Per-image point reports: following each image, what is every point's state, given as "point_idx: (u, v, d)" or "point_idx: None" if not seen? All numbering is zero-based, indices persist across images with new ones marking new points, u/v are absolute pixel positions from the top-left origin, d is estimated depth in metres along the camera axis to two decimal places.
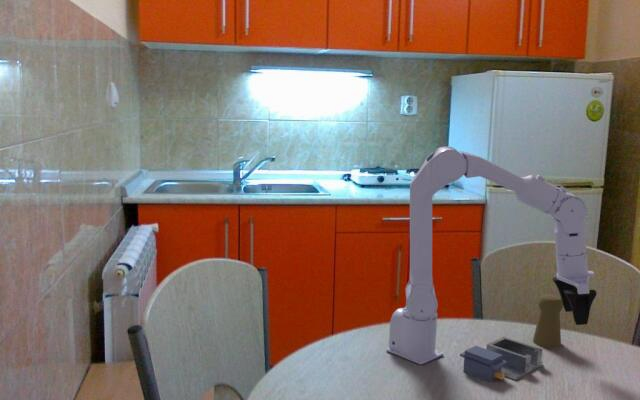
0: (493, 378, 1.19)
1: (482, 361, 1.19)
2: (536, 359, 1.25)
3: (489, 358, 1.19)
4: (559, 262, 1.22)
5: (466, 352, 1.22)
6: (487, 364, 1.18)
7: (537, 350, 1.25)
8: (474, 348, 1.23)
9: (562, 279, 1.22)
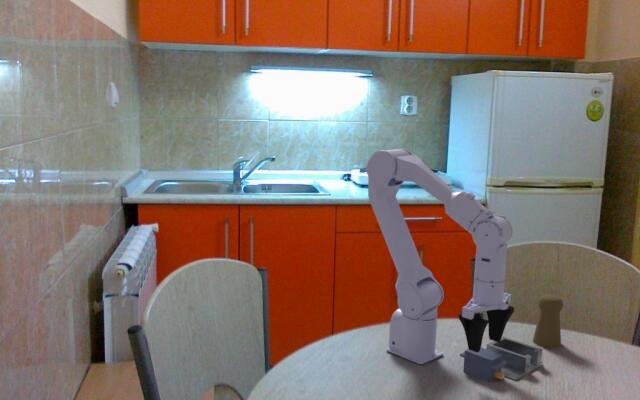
0: (493, 378, 1.19)
1: (482, 361, 1.19)
2: (536, 359, 1.25)
3: (489, 358, 1.19)
4: None
5: (466, 352, 1.22)
6: (487, 364, 1.18)
7: (537, 350, 1.25)
8: None
9: None
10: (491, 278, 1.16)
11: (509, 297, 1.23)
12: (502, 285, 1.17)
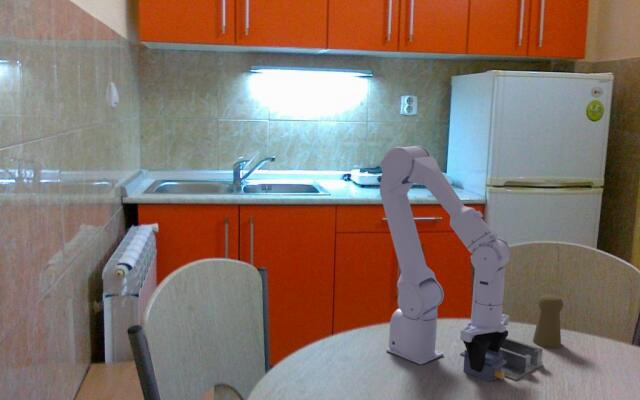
0: (493, 377, 1.19)
1: None
2: (536, 359, 1.25)
3: (489, 357, 1.19)
4: None
5: (466, 351, 1.22)
6: (487, 363, 1.18)
7: (537, 350, 1.25)
8: None
9: None
10: (489, 301, 1.17)
11: (507, 318, 1.24)
12: (500, 308, 1.18)
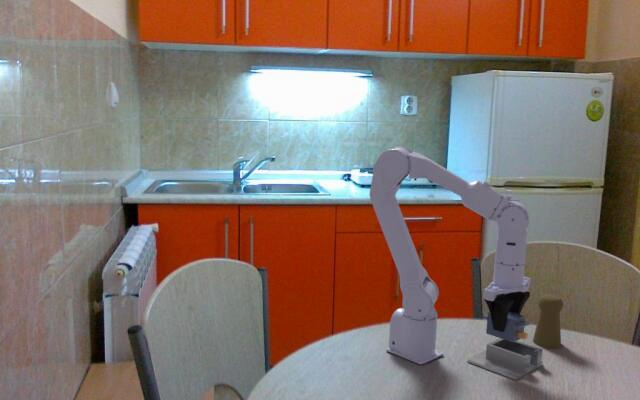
0: (516, 338, 1.21)
1: None
2: (536, 359, 1.25)
3: (512, 318, 1.20)
4: (494, 267, 1.23)
5: (489, 313, 1.24)
6: (510, 324, 1.20)
7: (537, 350, 1.25)
8: None
9: (491, 284, 1.23)
10: (516, 261, 1.18)
11: (529, 281, 1.26)
12: (522, 268, 1.19)
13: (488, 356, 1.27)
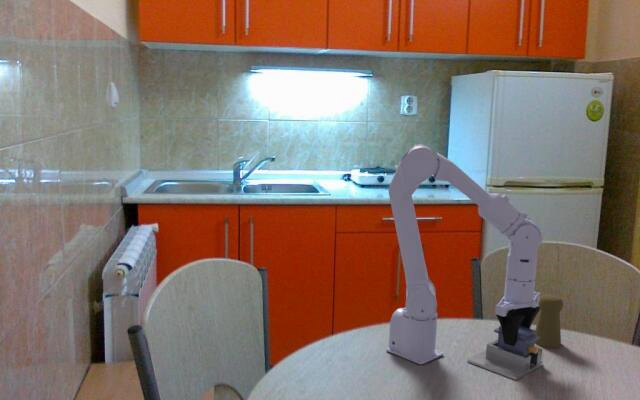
0: (527, 352, 1.24)
1: None
2: (536, 359, 1.25)
3: (523, 333, 1.23)
4: (505, 282, 1.26)
5: (500, 328, 1.26)
6: (521, 339, 1.23)
7: None
8: None
9: (502, 299, 1.25)
10: (529, 277, 1.22)
11: (538, 295, 1.29)
12: (533, 284, 1.22)
13: (488, 356, 1.27)
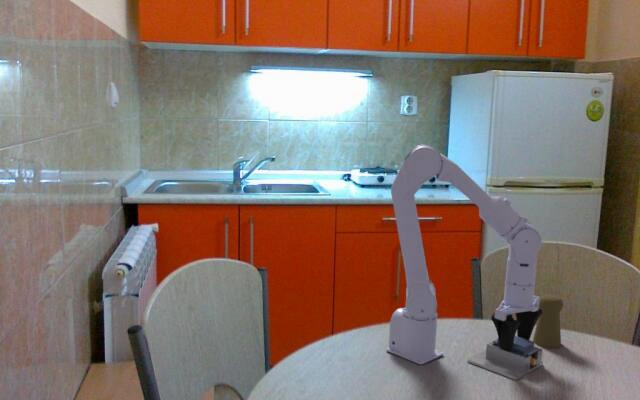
0: None
1: (515, 348, 1.24)
2: None
3: (522, 345, 1.24)
4: None
5: None
6: (520, 350, 1.24)
7: None
8: None
9: (501, 303, 1.26)
10: (529, 281, 1.22)
11: (538, 299, 1.29)
12: (533, 288, 1.23)
13: (488, 356, 1.27)
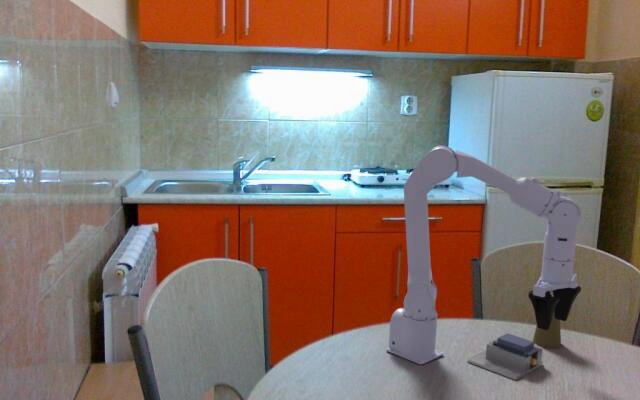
0: None
1: (515, 348, 1.24)
2: None
3: (522, 345, 1.24)
4: (542, 263, 1.22)
5: (499, 339, 1.27)
6: (520, 350, 1.24)
7: None
8: (506, 336, 1.28)
9: (539, 280, 1.21)
10: (567, 257, 1.17)
11: (575, 277, 1.25)
12: (572, 264, 1.18)
13: (488, 356, 1.27)
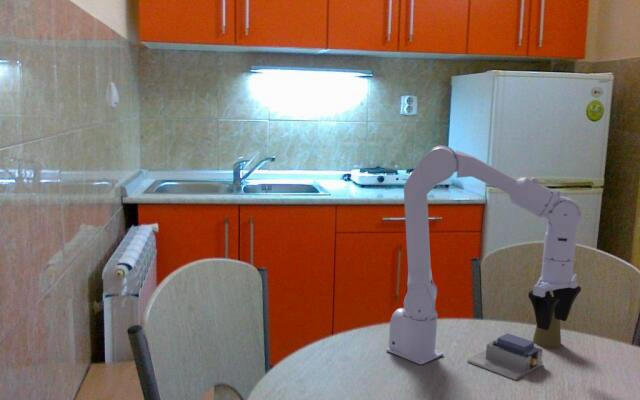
0: None
1: (515, 348, 1.24)
2: None
3: (522, 345, 1.24)
4: (542, 263, 1.22)
5: (499, 339, 1.27)
6: (520, 350, 1.24)
7: None
8: (506, 336, 1.28)
9: (539, 280, 1.21)
10: (567, 257, 1.17)
11: (575, 277, 1.25)
12: (572, 264, 1.18)
13: (488, 356, 1.27)
